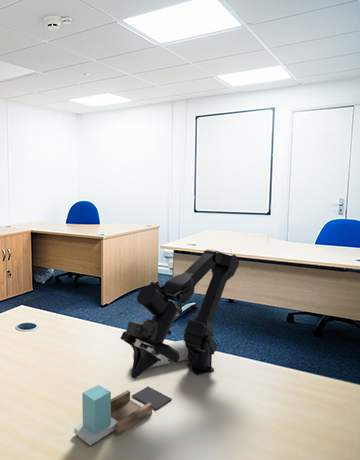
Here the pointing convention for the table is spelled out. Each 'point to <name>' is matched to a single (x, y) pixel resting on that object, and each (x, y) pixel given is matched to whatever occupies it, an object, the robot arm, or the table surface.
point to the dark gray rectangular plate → (152, 397)
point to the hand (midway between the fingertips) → (132, 378)
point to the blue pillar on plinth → (96, 415)
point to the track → (127, 412)
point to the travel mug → (179, 347)
